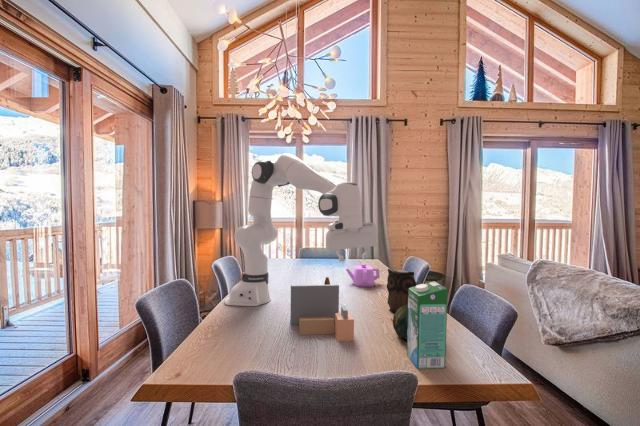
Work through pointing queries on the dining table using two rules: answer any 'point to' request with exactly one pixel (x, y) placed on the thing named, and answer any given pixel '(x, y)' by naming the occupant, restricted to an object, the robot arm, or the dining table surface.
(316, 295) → the board
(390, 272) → the owl
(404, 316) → the squash
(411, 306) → the milk carton
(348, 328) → the tall peach box
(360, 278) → the teakettle
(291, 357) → the dining table surface
